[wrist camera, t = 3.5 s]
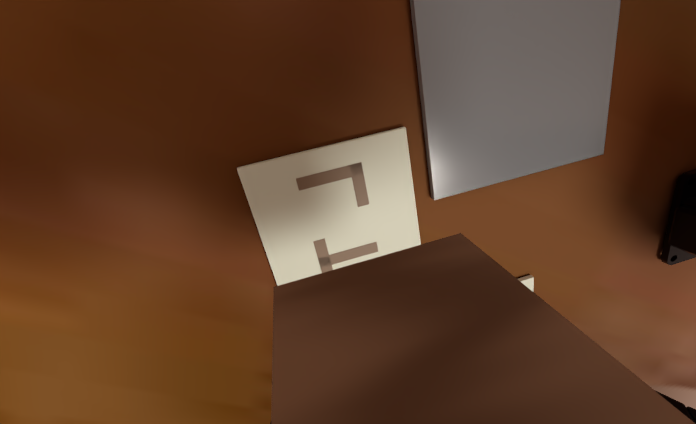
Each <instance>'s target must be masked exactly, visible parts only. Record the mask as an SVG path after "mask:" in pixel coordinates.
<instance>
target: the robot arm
mask: <svg viewBox="0 0 696 424" xmlns="http://www.w3.org/2000/svg"><path fill="white" fill-rule="evenodd" d="M695 257H696V170H692V171H689V172H686V173H683V174H682V175H681V176H680V177H679V179H678V181H677V184H676V189H675V194H674V199H673V203H672V208H671V213H670V218H669V222H668V227H667V232H666V237H665V242H664V246H663V251H662V256H661V260H662V262H664V263H667V264H669V265H673V264H676V263H679V262H682V261H685V260H689V259H692V258H695ZM654 391H655V390H654ZM656 392H657V391H656ZM657 393H658V394H659V395H661V396H662V397H663V398H664V399H666V400H667V401H668V402H669V403H670V404H672V405H673V406H674V407H675V408H677V409H678V410H679V411H680V412H682V413H683V414H684V415H685V416H686V417H688V418H689V419H690V420H691V421H693V422H694V423H695V424H696V410H695V409H693V408H691V407H685V405H684V404H682V403H680V402H678V401H676V400H674V399H671V398H670V397H668V396H666V395H663V394H661V393H659V392H657ZM270 424H271V423H270Z"/></svg>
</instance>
